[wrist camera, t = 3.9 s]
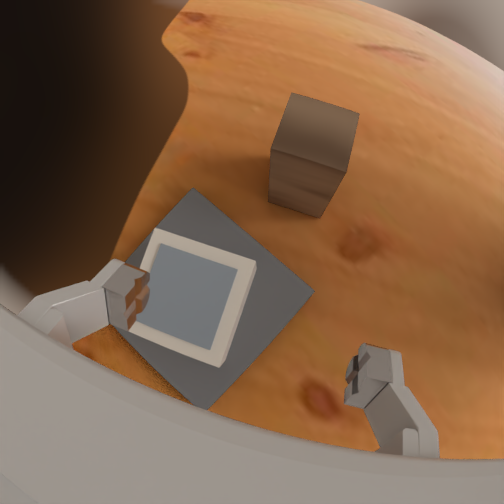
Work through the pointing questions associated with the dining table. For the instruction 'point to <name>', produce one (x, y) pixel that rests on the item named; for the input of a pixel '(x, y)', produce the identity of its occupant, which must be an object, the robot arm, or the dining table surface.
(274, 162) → the walnut column
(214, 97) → the dining table surface
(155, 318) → the base board
